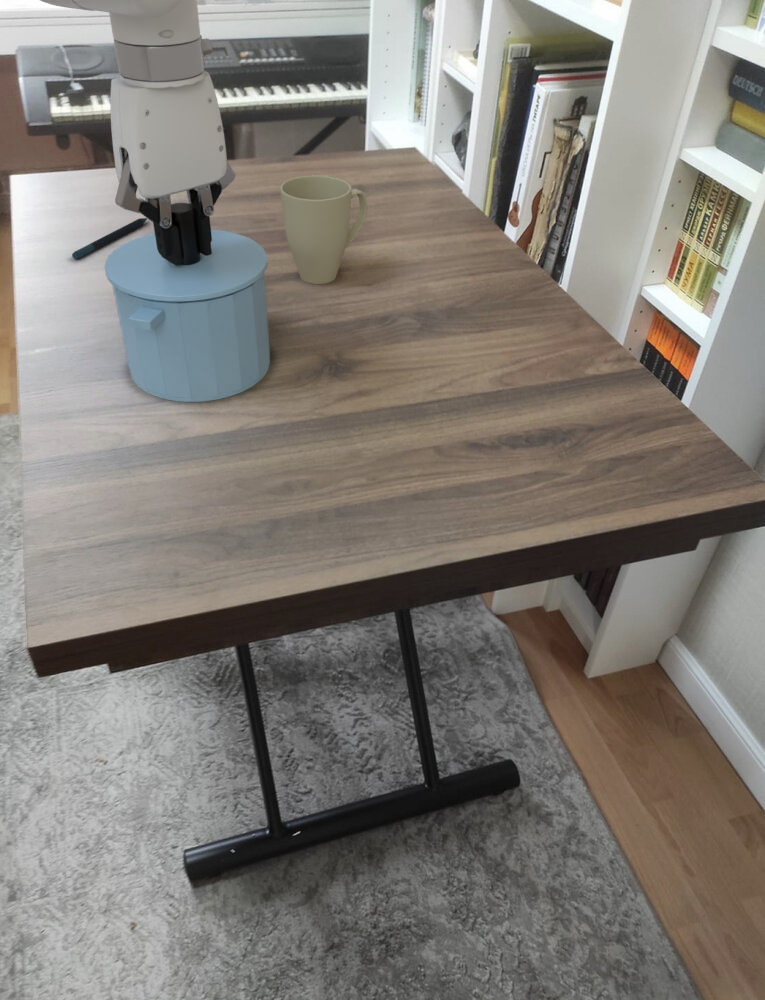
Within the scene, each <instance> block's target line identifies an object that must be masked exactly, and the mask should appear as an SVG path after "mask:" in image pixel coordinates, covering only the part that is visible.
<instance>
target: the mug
mask: <svg viewBox="0 0 765 1000" xmlns="http://www.w3.org/2000/svg"><path fill="white" fill-rule="evenodd" d="M279 188H280V199H281V208H282V215H283V222H284V223H283V225H284V232H285V235H286V240H287V241H286V242H287V244H288V247H289V250H290V254H291V256H292V259H293V261H294V263H295V266H296V269H297V272H298V274H299V277H300V279H301V280H302V281H303V282H305V283H308V284H311V285H324V284H329V283H331V282H333V281H335V280H336V278H337V275H338V273H339V269H340V266H341V263H342V260H343V257H344V253H345V250H346V249H347V248H348V247H349V246H350V244H351V243H352V242H353V240H354V239H355V237H356V236H357V234H358V233H359V231H360V230H361V228H362V227H363V225H364V223H365V220H366V217H367V213H368V212H367V211H368V202H367V201H368V200H367V197H366V195H365V193H364V192H363V191H362V190H360V189H357V188H352V186H351V184H350V183H349V182H348V181H346V180H344V179H342V178H339V177H335V176H331V175H330V176H329V175H317V174H313V175H301V176H296V177H293V178H289V179H287V180H285V181H284V182H282V183H281V184H280V187H279ZM355 196H357V197H358V202H359V203H358V204H359V209H358V214H357V216H356V217H357V218H356V220H355V222H354V223H353V225H352V227H351V228H350V219H351V204H352V199H354V197H355Z"/></svg>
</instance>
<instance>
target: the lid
mask: <svg viewBox="0 0 765 1000" xmlns="http://www.w3.org/2000/svg"><path fill="white" fill-rule="evenodd" d="M171 214H172V224H173V225H175V226H177V228H178V231H179V238H180V246H181V253H182V260H183V262H182V263H181V264H180V265H177V266H176V265H174V264H173V263H171V262H169V261H168V260H166V259H164V258H163V257H162V256H161V255H160V254H159V252H158V250H157V244H156V238H155V232H153V233H150V234H146V235H143V236H140V237H137V238H134V239H132V240H129V241H127V242H125V243H123V244H121V245H120V246H118V247H117V248H116V249H114V250H113V251H112V252H111V253H110V254H109V255H108V257H107V258H106V260H105V263H104V272H105V276H106V278H107V280H108V282H109V283H110V284H111V285H113V286H115V287H116V288H117V289H119V290H121V291H123V292H125V293H127V294H130V295H133V296H136V297H140V298H145V299H150V300H157V301H178V302H181V301H196V300H205V299H210V298H216V297H220V296H224V295H227V294H231V293H234V292H236V291H239V290H241V289H244V288H246V287H248V286H250V285H251V284H253V283H254V282H256V281H257V280H258V279H259V278H260V277H261V276H262V275H263V274H265V273H266V271H267V268H268V264H269V263H268V254H267V252H266V250H265V249H264V247H262V246H261V244H260V243H258V242H257V241H255V240H254V239H251V238H249V237H247V236H245V235H242V234H239V233H235V232H231V231H227V230H226V231H225V230H219V229H212V228H211V235H212V242H211V250H212V254H211V255H208V256H205V255H203V254H201V253H200V249H199V241H198V232H197V224H196V216H195V208H194V206H193V205H192V204H189V202H175V203H171ZM113 286H112V287H113Z"/></svg>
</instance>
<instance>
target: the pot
mask: <svg viewBox="0 0 765 1000" xmlns="http://www.w3.org/2000/svg"><path fill="white" fill-rule="evenodd" d="M111 285H112V284H111ZM112 290H113V297H114V301H115V306H116V311H117V316H118V321H119V327H120V331H121V335H122V341H123V347H124V352H125V357H126V362H127V368H128V369H129V370H128V371H129V373H130V376H131V379H132V381H133V382H134V384H135V385H136V387H138V388H139V389H141V390H142V391H143V392H145V393H147V394H149V395H151V396H153V397H156V398H160V399H163V400H168V401H173V402H183V403H200V402H201V403H202V402H210V401H217V400H222V399H226V398H229V397H233V396H236V395H239V394H241V393H243V392H245V391H247V390H249V389H251V388H253V387H254V386H256V384H258V383H259V382H261V380H263V378H264V377H265V376H266V374H267V373H268V371H269V370H270V369H269V368H270V365H271V360H270V359H271V347H270V346H271V345H270V334H269V332H270V331H269V319H268V303H267V291H266V275H265V273H264V274H263V275H262V276H261V277H260V278H259V279H258V280H257V281H256V282H254V283H253V284H251V285H250V286H248V287H246V288H244V289H241V290H239V291H236V292H234V293H231V294H227V295H224V296H220V297H216V298H210V299H205V300H196V301H181V302H178V301H157V300H150V299H145V298H140V297H136V296H133V295H130V294H127V293H125V292H123V291H121V290H119V289H117V288H116V287H115V286H113V285H112Z"/></svg>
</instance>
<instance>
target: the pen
mask: <svg viewBox="0 0 765 1000" xmlns="http://www.w3.org/2000/svg"><path fill="white" fill-rule="evenodd" d="M147 220H148V218H147V217H143V218H137V219H136V220H134V221H132V222H130V223H128V224H126V225H124V226H122V227H120V228H118V229H116V230H114V231H112V232H110V233H108V234H106V235H104V236H102V237H100V238H98V239H96V240H95V241H92V242H90V243H88V244H86V245H85V246H83V247H81V248H79V249H76V250H75V251H74V252H73V253H72V254H71V257H72V258H73V259H74V260H78V259H80V258H82V257H85V256H87V255H88V254H91V253H92V252H94V251H96V250H98V249H99V248H101V247H104V246H105V245H107V244H109V243H111V242H113V241H115V240H117V239H119V238H121V237H122V236H124V235H126V234H128V233H130V232H132V231H134V230H136V229H138V228H140V227H142V226H143V225H144V224H145V223H146V222H147Z"/></svg>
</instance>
